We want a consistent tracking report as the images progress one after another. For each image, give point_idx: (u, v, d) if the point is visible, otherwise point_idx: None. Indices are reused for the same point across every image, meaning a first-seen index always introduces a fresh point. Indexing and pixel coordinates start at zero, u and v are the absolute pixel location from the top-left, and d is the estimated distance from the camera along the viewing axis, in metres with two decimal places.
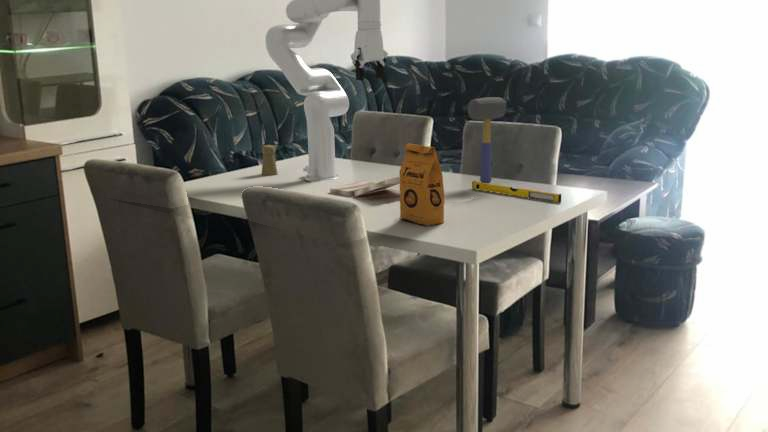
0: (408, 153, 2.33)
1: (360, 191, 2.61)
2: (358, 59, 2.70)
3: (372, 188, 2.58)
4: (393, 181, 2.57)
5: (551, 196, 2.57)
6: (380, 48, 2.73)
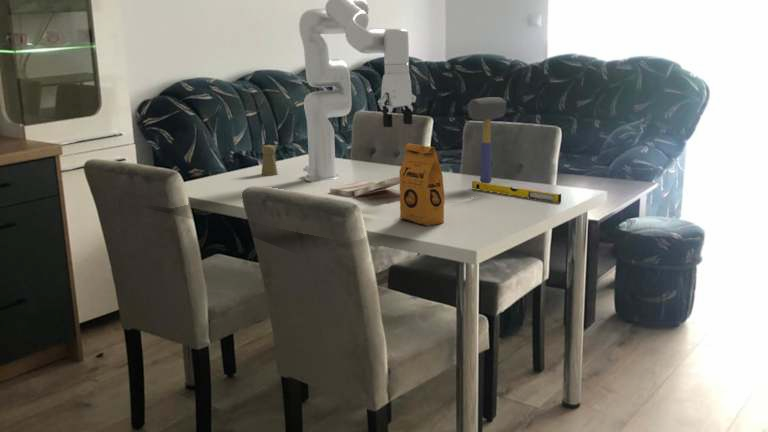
0: (409, 153, 2.33)
1: (360, 191, 2.61)
2: (385, 105, 2.52)
3: (372, 188, 2.58)
4: (393, 181, 2.57)
5: (551, 196, 2.57)
6: (408, 92, 2.55)
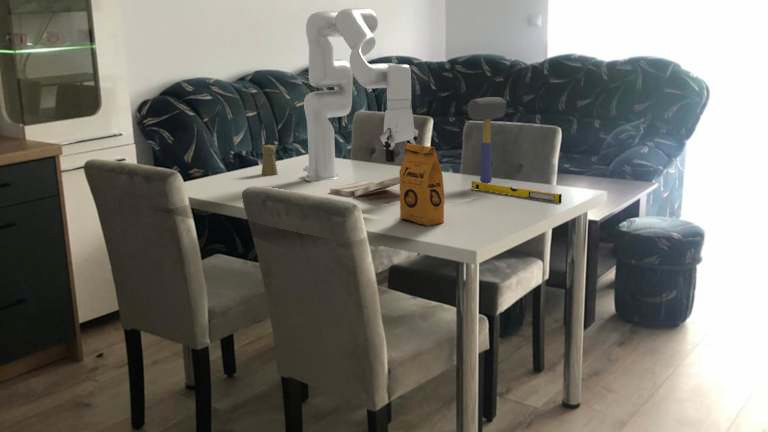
0: (408, 153, 2.33)
1: (360, 191, 2.61)
2: (388, 140, 2.53)
3: (372, 188, 2.58)
4: (393, 181, 2.57)
5: (551, 196, 2.57)
6: (411, 127, 2.56)
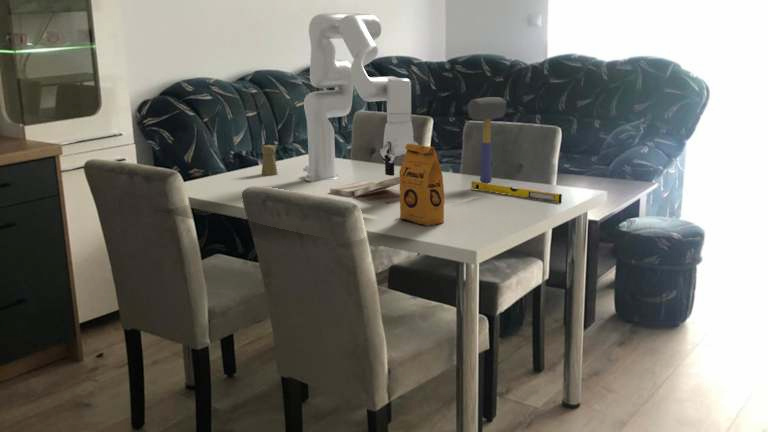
0: (408, 153, 2.33)
1: (360, 191, 2.61)
2: (387, 153, 2.55)
3: (372, 188, 2.58)
4: (393, 181, 2.57)
5: (551, 196, 2.57)
6: (410, 140, 2.57)
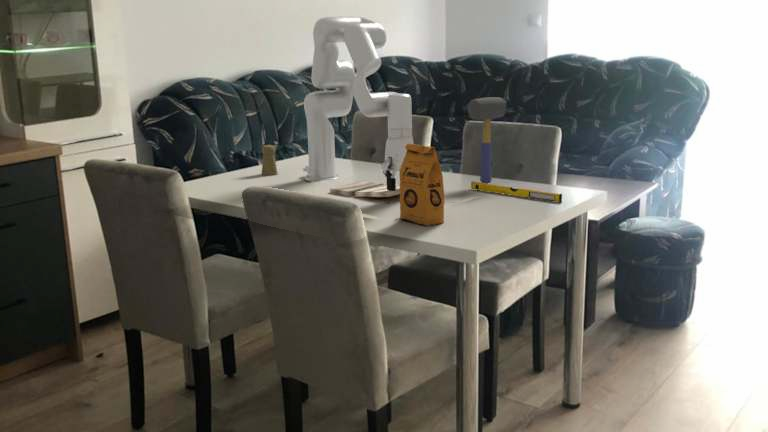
0: (408, 153, 2.33)
1: (361, 193, 2.61)
2: (389, 168, 2.55)
3: (374, 195, 2.58)
4: (396, 193, 2.57)
5: (552, 196, 2.57)
6: None
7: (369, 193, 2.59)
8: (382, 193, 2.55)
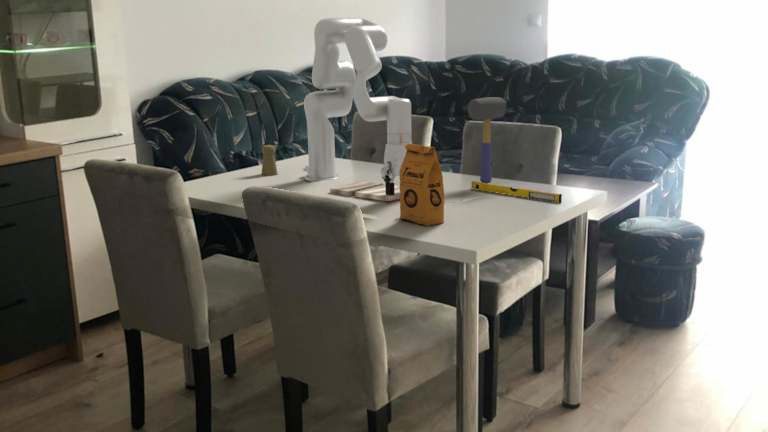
0: (408, 153, 2.33)
1: (361, 194, 2.61)
2: (388, 173, 2.56)
3: (374, 198, 2.58)
4: (396, 197, 2.57)
5: (551, 196, 2.57)
6: None
7: (369, 195, 2.59)
8: (383, 197, 2.55)
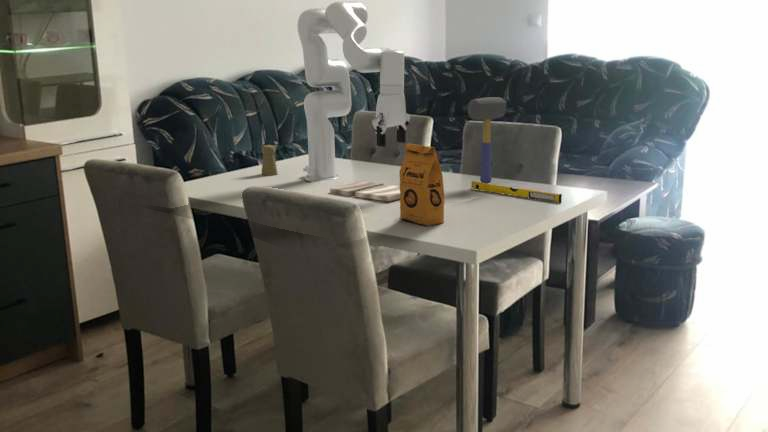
0: (408, 153, 2.33)
1: (361, 194, 2.61)
2: (379, 124, 2.57)
3: (374, 198, 2.58)
4: (396, 197, 2.57)
5: (551, 196, 2.57)
6: (403, 112, 2.60)
7: (369, 195, 2.59)
8: (383, 197, 2.55)
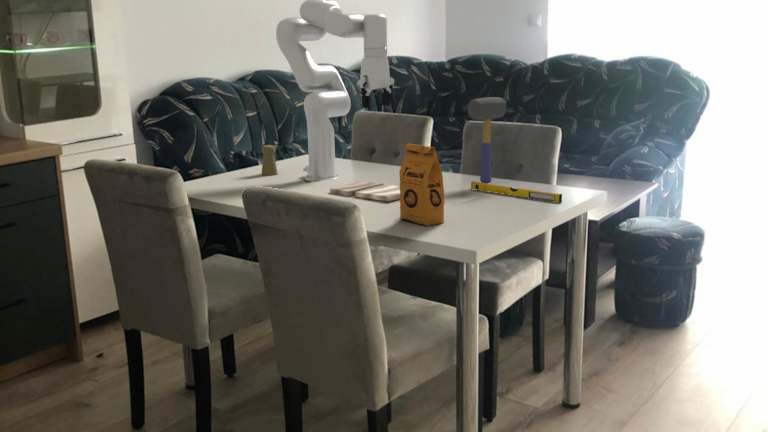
0: (408, 153, 2.33)
1: (361, 194, 2.61)
2: (364, 87, 2.65)
3: (374, 198, 2.58)
4: (396, 197, 2.57)
5: (552, 196, 2.57)
6: (386, 75, 2.68)
7: (369, 195, 2.59)
8: (383, 197, 2.55)
